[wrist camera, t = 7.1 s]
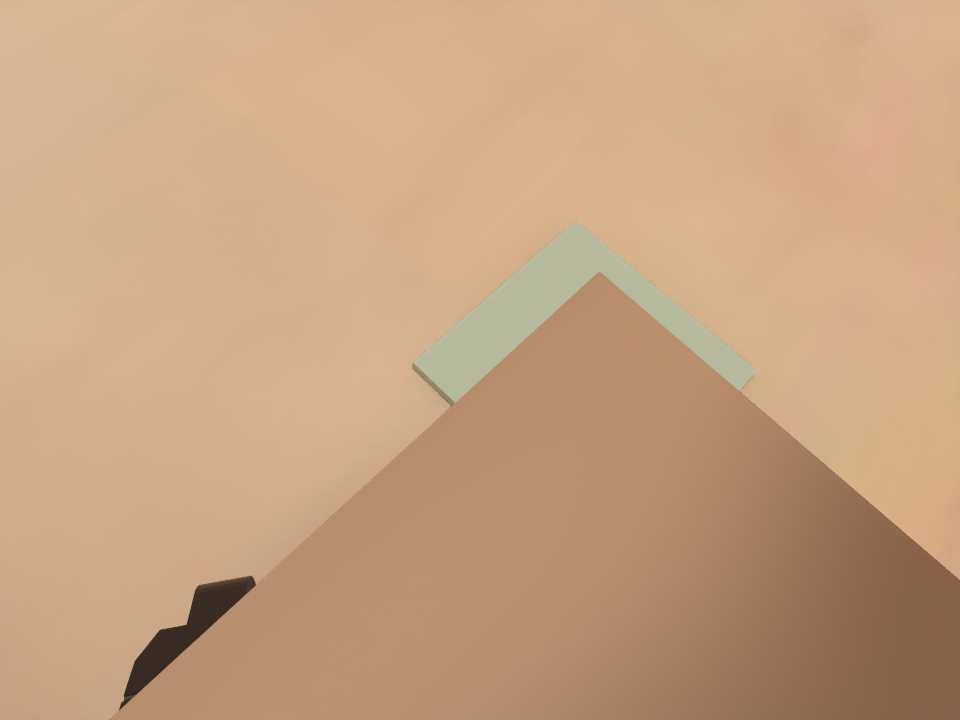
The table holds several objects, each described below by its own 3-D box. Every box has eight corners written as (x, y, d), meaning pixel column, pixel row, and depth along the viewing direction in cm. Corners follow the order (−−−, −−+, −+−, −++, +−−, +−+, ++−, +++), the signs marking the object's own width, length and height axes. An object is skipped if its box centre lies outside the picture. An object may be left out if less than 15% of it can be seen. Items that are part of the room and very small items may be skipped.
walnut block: (307, 684, 14) (105, 723, 4) (474, 515, 16) (600, 271, 6) (478, 884, 13) (720, 1525, 3) (636, 679, 15) (1100, 700, 5)
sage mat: (412, 368, 25) (412, 362, 24) (573, 227, 28) (576, 220, 28) (601, 548, 23) (605, 545, 22) (751, 375, 26) (757, 369, 26)
